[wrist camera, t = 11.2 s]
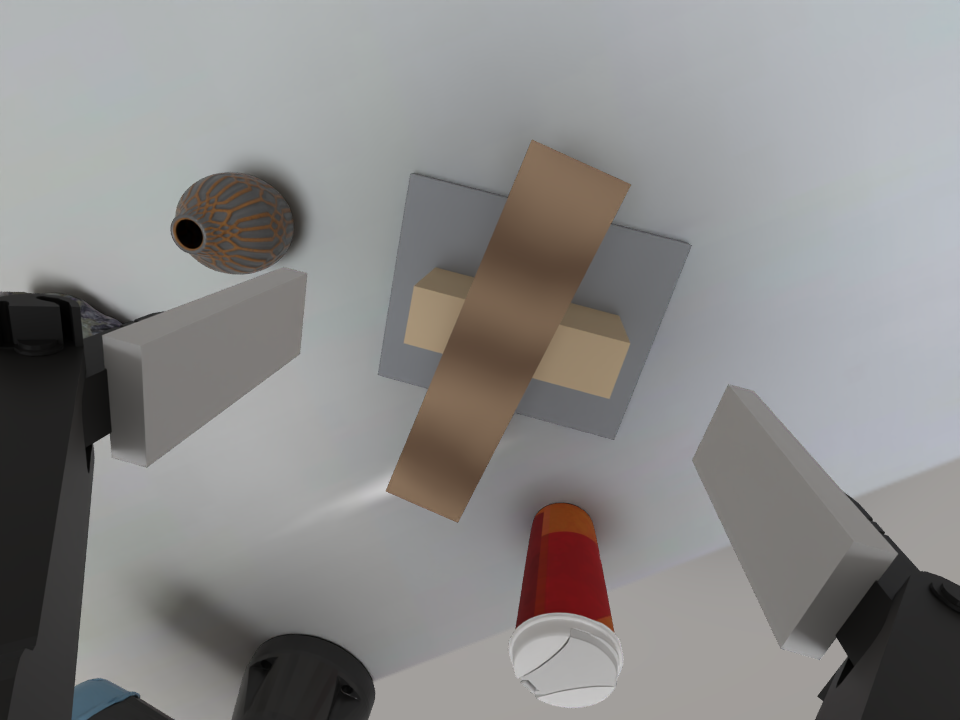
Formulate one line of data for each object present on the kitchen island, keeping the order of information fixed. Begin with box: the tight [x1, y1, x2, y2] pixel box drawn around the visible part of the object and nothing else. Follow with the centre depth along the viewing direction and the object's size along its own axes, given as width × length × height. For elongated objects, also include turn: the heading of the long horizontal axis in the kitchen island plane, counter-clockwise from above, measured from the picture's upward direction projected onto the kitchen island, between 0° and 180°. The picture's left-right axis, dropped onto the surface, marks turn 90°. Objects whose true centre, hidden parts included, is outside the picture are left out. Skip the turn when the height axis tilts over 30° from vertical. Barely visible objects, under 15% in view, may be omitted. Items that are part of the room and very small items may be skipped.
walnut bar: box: [386, 140, 631, 523], centre depth 29 cm, size 22×5×5 cm, turn 157°
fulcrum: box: [378, 173, 692, 440], centre depth 35 cm, size 16×20×7 cm
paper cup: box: [508, 503, 624, 708], centre depth 39 cm, size 8×8×14 cm
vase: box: [171, 172, 294, 274], centre depth 34 cm, size 7×7×9 cm
